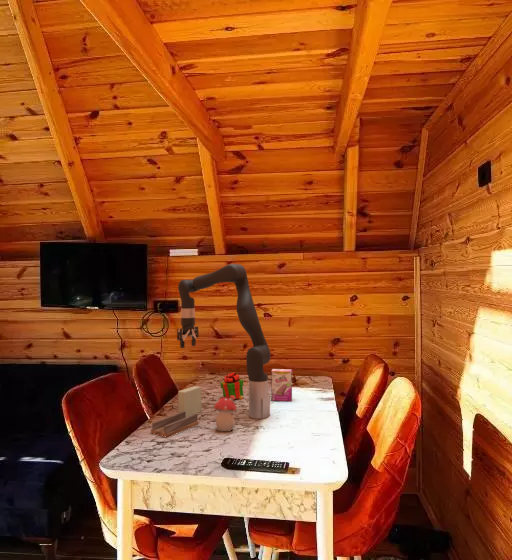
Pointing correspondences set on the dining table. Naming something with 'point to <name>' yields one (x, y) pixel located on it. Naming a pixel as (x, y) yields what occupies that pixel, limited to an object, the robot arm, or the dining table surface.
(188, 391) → the door panel
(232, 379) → the gift box
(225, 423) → the decorative ornament
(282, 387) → the candy bar box
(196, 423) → the door track
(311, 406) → the dining table surface
